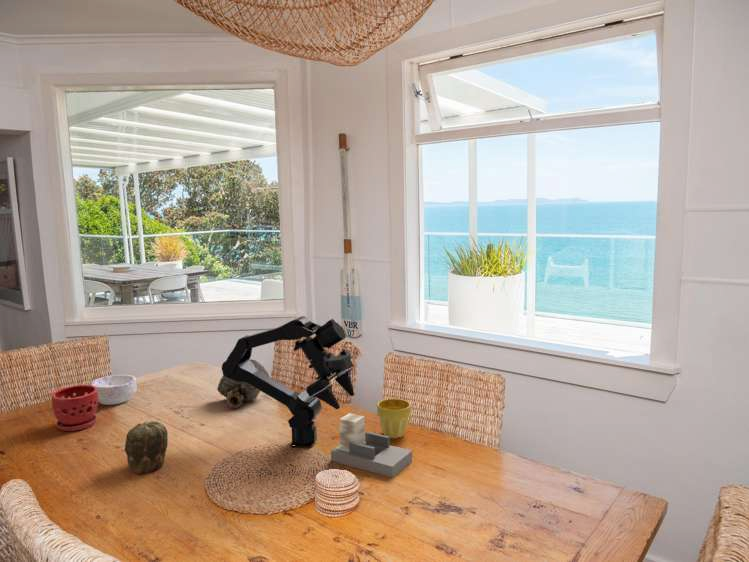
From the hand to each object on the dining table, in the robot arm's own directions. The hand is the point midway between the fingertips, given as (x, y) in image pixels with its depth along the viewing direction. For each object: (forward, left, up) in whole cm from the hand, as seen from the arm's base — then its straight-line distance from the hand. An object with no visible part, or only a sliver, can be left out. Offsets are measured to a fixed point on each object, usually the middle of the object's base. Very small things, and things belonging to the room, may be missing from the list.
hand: (345, 401), depth 156 cm
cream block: (+3, -5, -11) cm, 12 cm away
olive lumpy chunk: (-51, -18, -14) cm, 56 cm away
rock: (-46, +32, -14) cm, 58 cm away
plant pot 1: (-90, +5, -14) cm, 92 cm away
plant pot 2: (+13, +12, -14) cm, 22 cm away
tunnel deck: (+9, -7, -14) cm, 18 cm away
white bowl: (-93, +29, -14) cm, 99 cm away
